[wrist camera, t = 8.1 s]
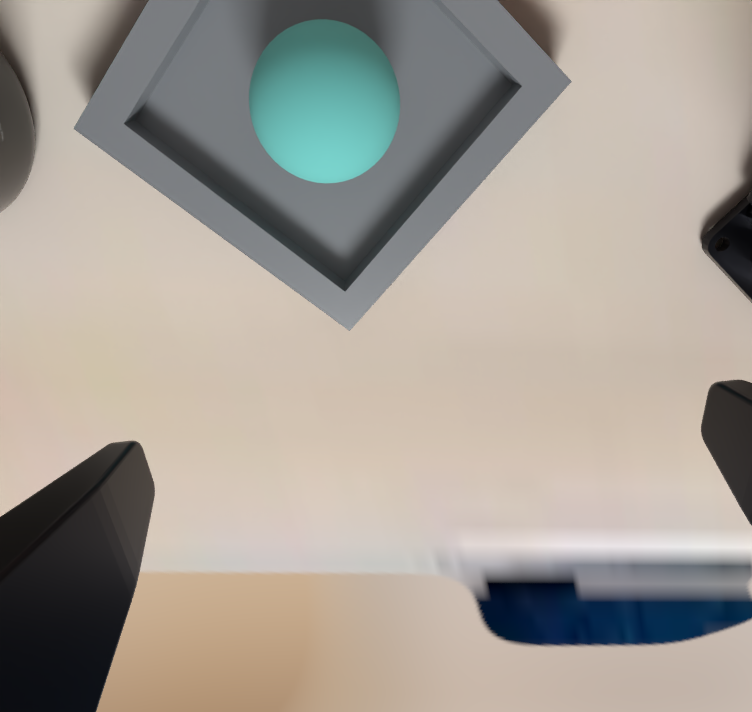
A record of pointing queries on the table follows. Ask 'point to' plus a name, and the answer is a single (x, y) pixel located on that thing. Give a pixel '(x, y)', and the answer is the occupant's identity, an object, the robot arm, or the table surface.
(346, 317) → the tray
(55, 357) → the table surface
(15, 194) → the supplement bottle
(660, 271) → the table surface
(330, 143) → the ball
